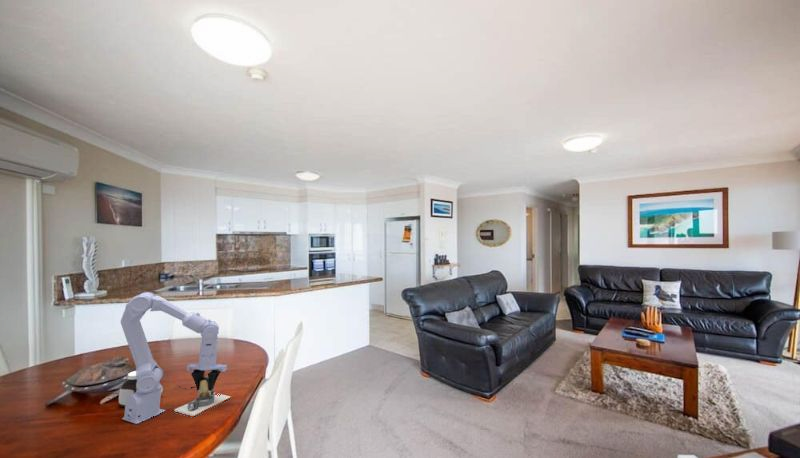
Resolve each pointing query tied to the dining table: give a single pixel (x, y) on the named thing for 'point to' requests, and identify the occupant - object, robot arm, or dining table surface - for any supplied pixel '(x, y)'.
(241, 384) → the dining table surface
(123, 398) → the spread jar
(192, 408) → the steel shaft
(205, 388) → the cylinder
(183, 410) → the base plate
